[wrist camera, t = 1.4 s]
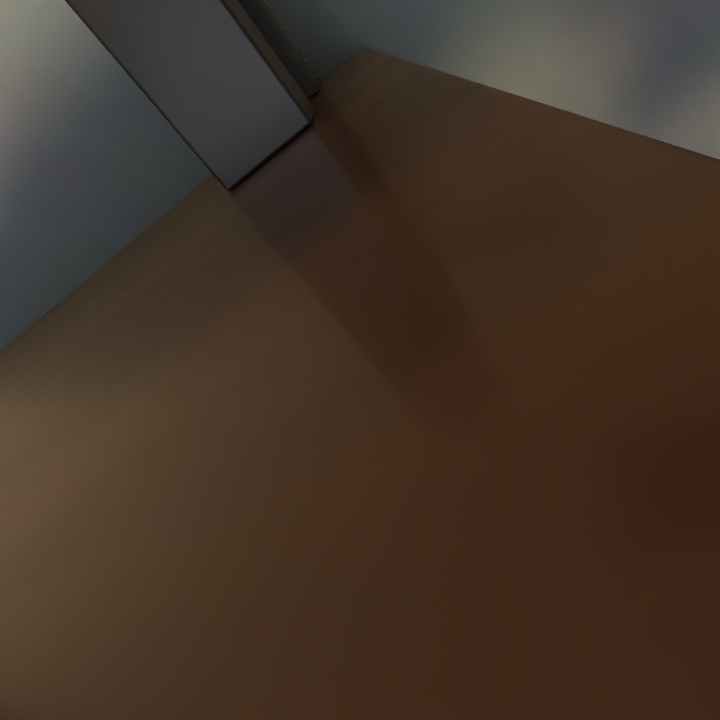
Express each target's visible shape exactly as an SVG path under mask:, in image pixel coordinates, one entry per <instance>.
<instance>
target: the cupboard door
mask: <svg viewBox="0 0 720 720" xmlns="http://www.w3.org/2000/svg"><path fill="white" fill-rule="evenodd" d="M65 1H66V2H67V3H68V5H69V6H70V7H71V8H72V9H73V11H74V12H75V13H76V14H77V15H78V16H79V18H80V19H81V20H82V21H83V22H84V23H85V25H86V26H87V27H88V28H89V29H90V31H91V32H92V33H93V34H94V35H95V36H96V38H97V39H98V40H99V41H100V42H101V44H102V45H103V46H104V47H105V48H106V49H107V51H108V52H109V53H110V54H111V55H112V56H113V58H114V59H115V60H116V61H117V62H118V64H119V65H120V66H121V67H122V68H123V69H124V71H125V72H126V73H127V74H128V75H129V76H130V78H131V79H132V80H133V81H134V82H135V84H136V85H137V86H138V87H139V88H140V89H141V91H142V92H143V93H144V94H145V95H146V97H147V98H148V99H149V100H150V101H151V102H152V104H153V105H154V106H155V107H156V108H157V109H158V111H159V112H160V113H161V114H162V115H163V117H164V118H165V119H166V120H167V121H168V122H169V124H170V125H171V126H172V127H173V128H174V130H175V131H176V132H177V133H178V134H179V135H180V137H181V138H182V139H183V140H184V141H185V142H186V144H187V145H188V146H189V147H190V148H191V150H192V151H193V152H194V153H195V154H196V155H197V157H198V158H199V159H200V160H201V161H202V162H203V164H204V165H205V166H206V167H207V168H208V170H209V171H210V172H211V173H212V174H213V175H211V176H210V177H209V178H208V179H207V180H205V181H204V182H203V183H202V184H201V185H199V186H198V187H197V188H196V189H195V190H193V191H192V192H191V193H190V194H189V195H187V196H186V197H185V198H184V199H183V200H182V201H180V202H179V203H178V204H177V205H176V206H174V207H173V208H172V209H171V210H170V211H168V212H167V213H166V214H165V215H164V216H162V217H161V218H160V219H159V220H158V221H156V222H155V223H154V224H153V225H152V226H150V227H149V228H148V229H147V230H146V231H144V232H143V233H142V234H141V235H140V236H139V237H137V238H136V239H135V240H134V241H133V242H131V243H130V244H129V245H128V246H127V247H125V248H124V249H123V250H122V251H121V252H119V253H118V254H117V255H116V256H115V257H113V258H112V259H111V260H110V261H109V262H107V263H106V264H105V265H104V266H103V267H102V268H100V269H99V270H98V271H97V272H96V273H94V274H93V275H92V276H91V277H90V278H88V279H87V280H86V281H85V282H84V283H82V284H81V285H80V286H79V287H78V288H76V289H75V290H74V291H73V292H72V293H70V294H69V295H68V296H67V297H66V298H65V299H63V300H62V301H61V302H60V303H59V304H57V305H56V306H55V307H54V308H53V309H51V310H50V311H49V312H48V313H47V314H45V315H44V316H43V317H42V318H41V319H39V320H38V321H37V322H36V323H35V324H33V325H32V326H31V327H30V328H29V329H28V330H26V331H25V332H24V333H23V334H22V335H20V336H19V337H18V338H17V339H16V340H14V341H13V342H12V343H11V344H10V345H8V346H7V347H6V348H5V349H4V350H2V351H1V352H0V720H720V160H719V159H716V158H712V157H709V156H706V155H703V154H700V153H697V152H694V151H690V150H687V149H684V148H681V147H678V146H675V145H671V144H668V143H665V142H662V141H659V140H656V139H653V138H649V137H646V136H643V135H640V134H637V133H634V132H631V131H627V130H624V129H621V128H618V127H615V126H612V125H609V124H605V123H602V122H599V121H596V120H593V119H590V118H587V117H583V116H580V115H577V114H574V113H571V112H568V111H565V110H561V109H558V108H555V107H552V106H549V105H546V104H543V103H539V102H536V101H533V100H530V99H527V98H524V97H521V96H517V95H514V94H511V93H508V92H505V91H502V90H499V89H495V88H492V87H489V86H486V85H483V84H480V83H477V82H473V81H470V80H467V79H464V78H461V77H458V76H455V75H451V74H448V73H445V72H442V71H439V70H436V69H433V68H429V67H426V66H423V65H420V64H417V63H414V62H410V61H407V60H404V59H401V58H398V57H395V56H392V55H388V54H385V53H382V52H379V51H376V50H373V49H370V48H363V49H362V50H361V51H359V52H358V53H357V54H356V55H355V56H353V57H352V58H351V59H350V60H349V61H347V62H346V63H345V64H344V65H343V66H341V67H340V68H339V69H338V70H337V71H336V72H334V73H333V74H332V75H331V76H330V77H328V78H327V79H326V80H325V81H324V82H322V83H321V84H320V82H319V81H318V79H317V78H316V76H315V75H314V74H313V72H312V71H311V69H310V68H309V66H308V65H307V63H306V62H305V61H304V59H303V58H302V56H301V55H300V53H299V52H298V50H297V49H296V48H295V46H294V45H293V43H292V42H291V40H290V39H289V38H288V36H287V35H286V33H285V32H284V30H283V29H282V27H281V26H280V25H279V23H278V22H277V20H276V19H275V17H274V16H273V14H272V13H271V12H270V10H269V9H268V7H267V6H266V4H265V3H264V2H263V0H65Z"/></svg>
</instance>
